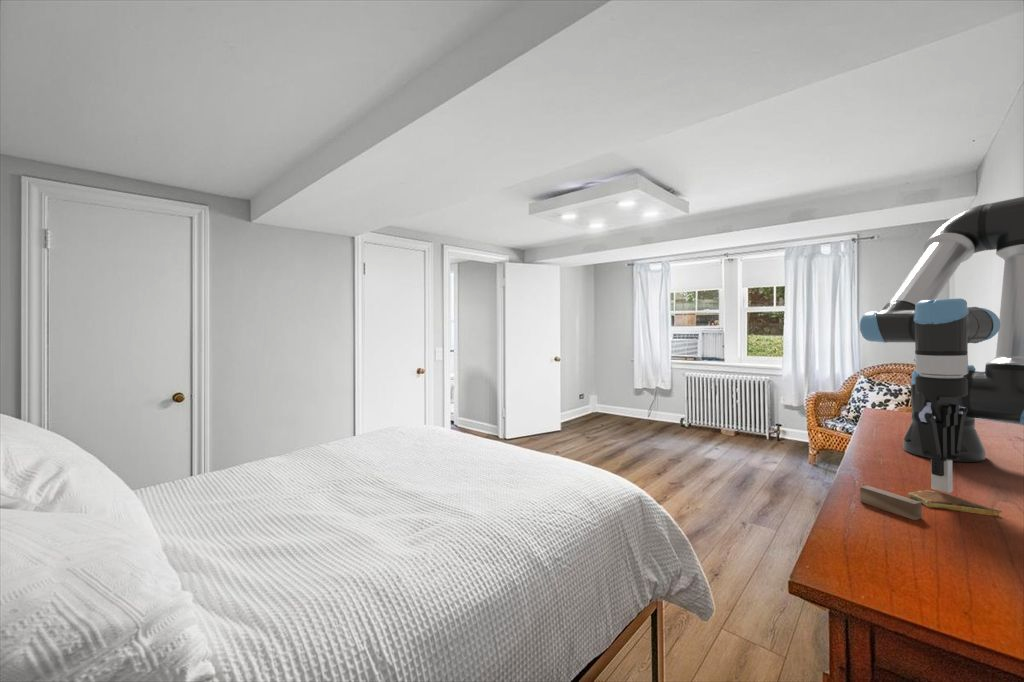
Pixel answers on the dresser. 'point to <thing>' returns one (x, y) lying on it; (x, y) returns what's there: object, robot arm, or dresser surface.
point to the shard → (950, 502)
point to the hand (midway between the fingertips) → (941, 490)
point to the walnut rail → (891, 502)
